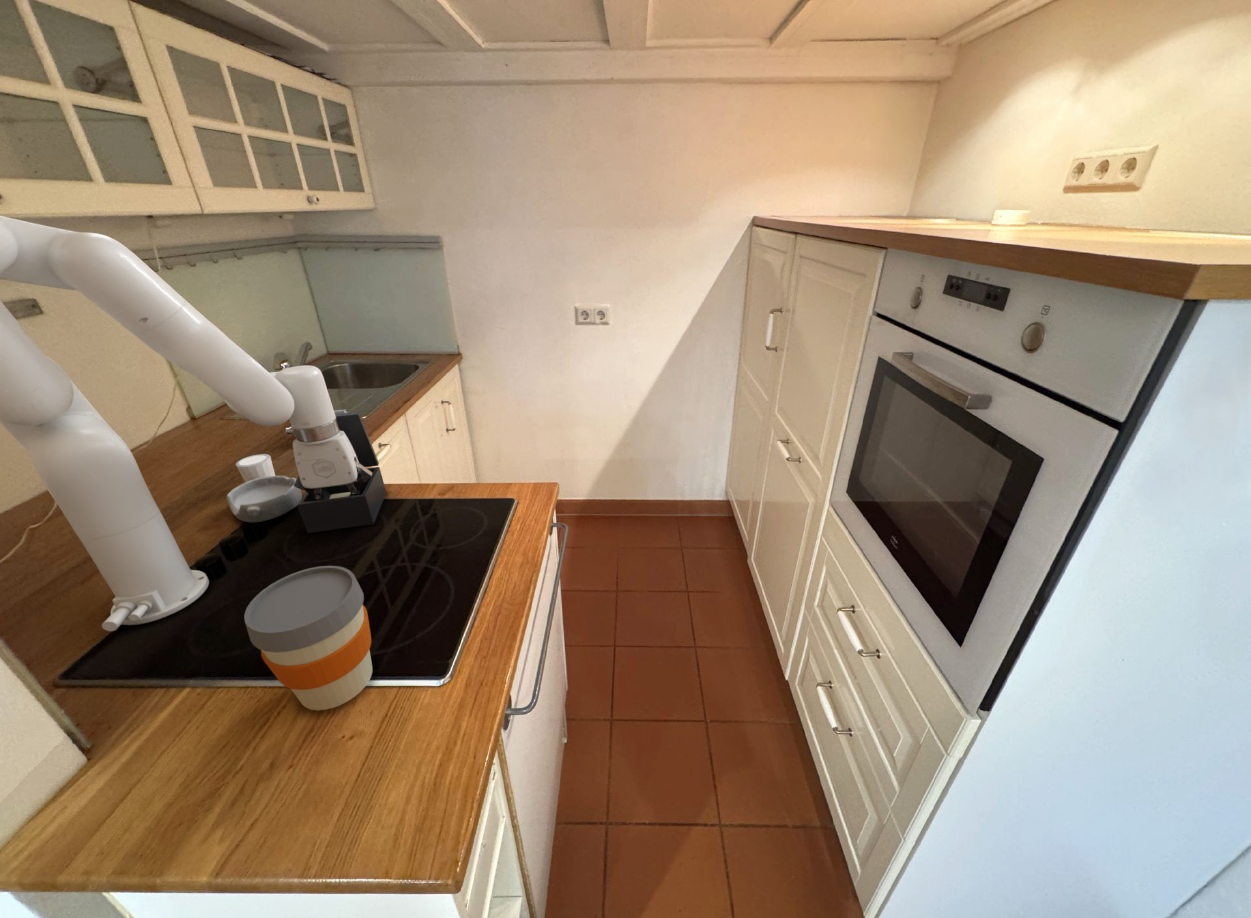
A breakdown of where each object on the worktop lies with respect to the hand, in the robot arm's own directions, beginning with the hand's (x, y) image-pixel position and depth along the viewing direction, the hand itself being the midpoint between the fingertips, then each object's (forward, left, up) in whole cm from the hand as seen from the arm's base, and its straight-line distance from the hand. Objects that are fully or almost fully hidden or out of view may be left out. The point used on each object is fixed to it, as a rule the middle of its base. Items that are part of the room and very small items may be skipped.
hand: (343, 509), depth 105 cm
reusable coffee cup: (-45, -10, -3) cm, 46 cm away
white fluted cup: (+22, +24, -3) cm, 33 cm away
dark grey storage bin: (+3, 0, -2) cm, 4 cm away
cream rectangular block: (0, 0, 0) cm, 0 cm away
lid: (+7, 0, +12) cm, 14 cm away
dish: (+10, +18, -3) cm, 21 cm away
